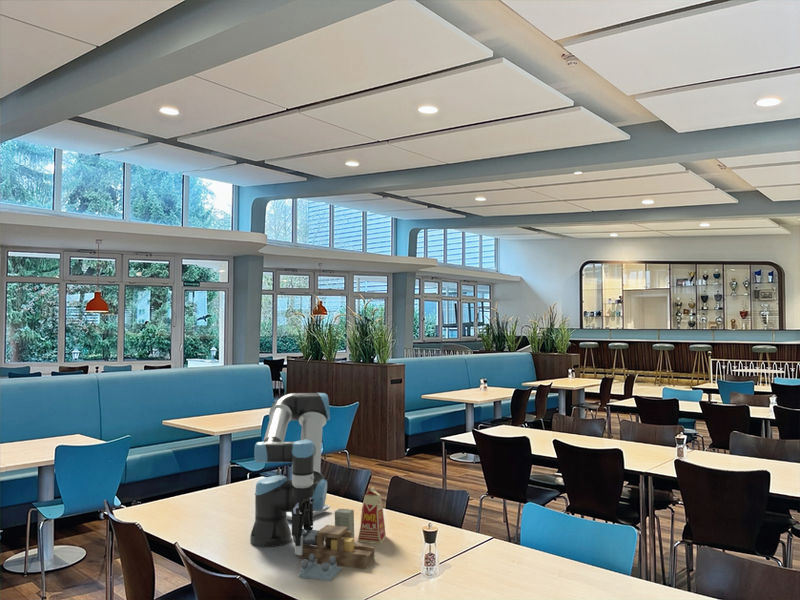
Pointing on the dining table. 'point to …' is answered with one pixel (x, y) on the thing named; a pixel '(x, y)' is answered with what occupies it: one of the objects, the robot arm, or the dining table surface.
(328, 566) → the cradle
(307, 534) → the silver metal cylinder
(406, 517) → the dining table surface
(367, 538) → the milk carton
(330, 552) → the wooden fixture
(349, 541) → the yellow block
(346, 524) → the skincare box
